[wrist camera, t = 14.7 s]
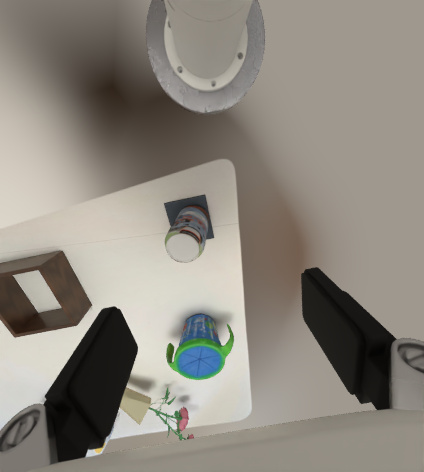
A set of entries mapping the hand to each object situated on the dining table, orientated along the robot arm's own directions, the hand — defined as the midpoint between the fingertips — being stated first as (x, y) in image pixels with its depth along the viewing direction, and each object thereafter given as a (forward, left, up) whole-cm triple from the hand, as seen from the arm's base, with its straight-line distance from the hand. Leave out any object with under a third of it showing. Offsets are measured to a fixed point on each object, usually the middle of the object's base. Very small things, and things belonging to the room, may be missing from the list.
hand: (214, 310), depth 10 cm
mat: (+4, -4, -30) cm, 31 cm away
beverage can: (+4, -4, -30) cm, 31 cm away
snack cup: (+31, -8, -31) cm, 44 cm away
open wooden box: (+12, -38, -30) cm, 50 cm away
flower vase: (+49, -28, -31) cm, 64 cm away
